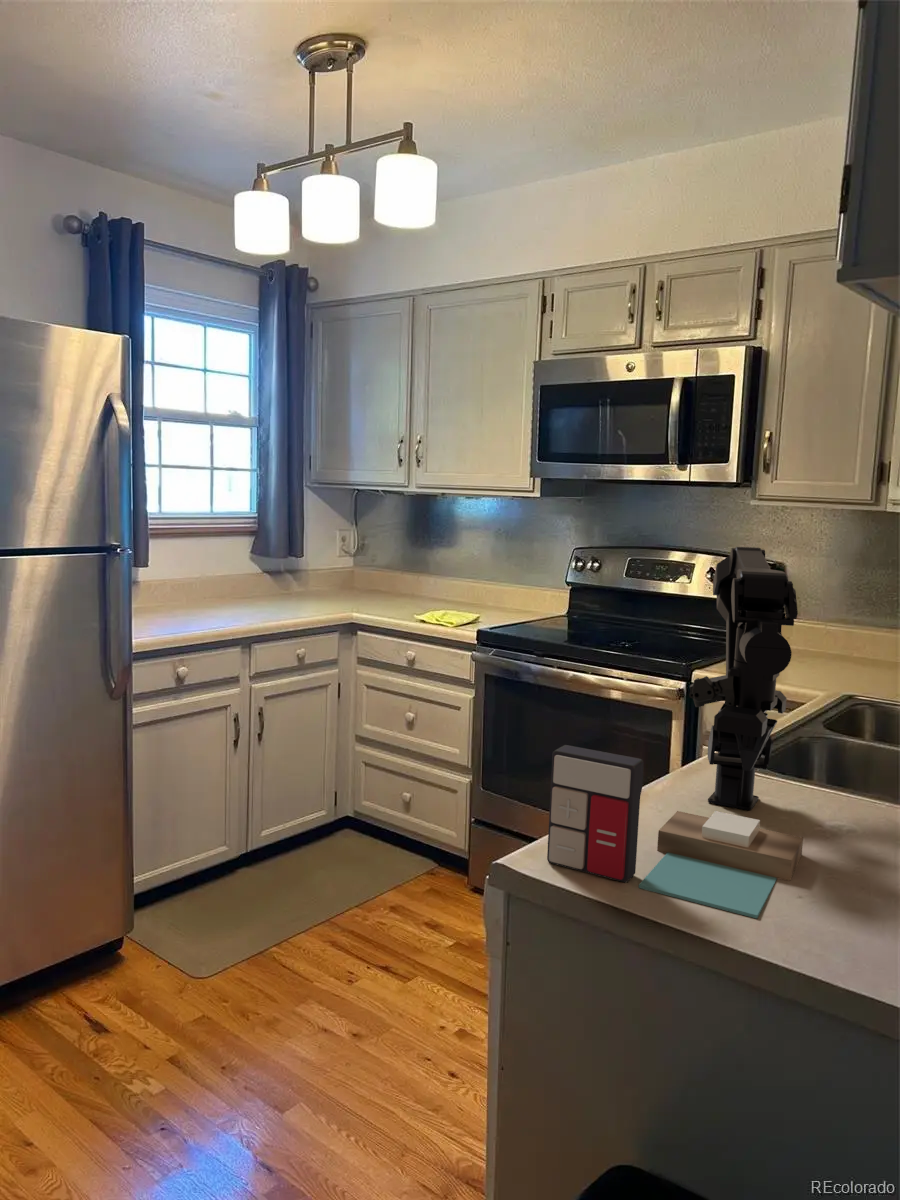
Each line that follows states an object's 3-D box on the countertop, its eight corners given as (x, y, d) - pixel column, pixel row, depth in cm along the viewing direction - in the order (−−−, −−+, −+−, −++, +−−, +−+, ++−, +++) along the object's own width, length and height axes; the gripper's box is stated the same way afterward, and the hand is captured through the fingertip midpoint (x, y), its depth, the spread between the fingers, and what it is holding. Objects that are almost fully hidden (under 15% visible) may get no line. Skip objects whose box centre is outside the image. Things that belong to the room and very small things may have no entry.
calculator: (544, 864, 115) (549, 751, 113) (557, 853, 118) (563, 743, 117) (625, 886, 109) (632, 767, 107) (637, 873, 113) (644, 759, 111)
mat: (667, 855, 119) (667, 852, 119) (776, 881, 112) (776, 878, 112) (638, 887, 109) (638, 884, 109) (757, 918, 102) (757, 915, 102)
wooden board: (676, 831, 128) (677, 810, 128) (801, 858, 119) (803, 837, 119) (657, 851, 120) (658, 830, 120) (789, 883, 112) (791, 860, 111)
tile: (714, 821, 124) (715, 810, 124) (759, 830, 121) (760, 820, 121) (701, 837, 118) (702, 826, 118) (748, 847, 115) (749, 836, 115)
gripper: (713, 645, 136) (706, 744, 138) (679, 664, 120) (671, 776, 122) (790, 654, 130) (782, 757, 132) (765, 675, 114) (756, 792, 116)
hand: (747, 769), depth 126 cm, fingers closed
